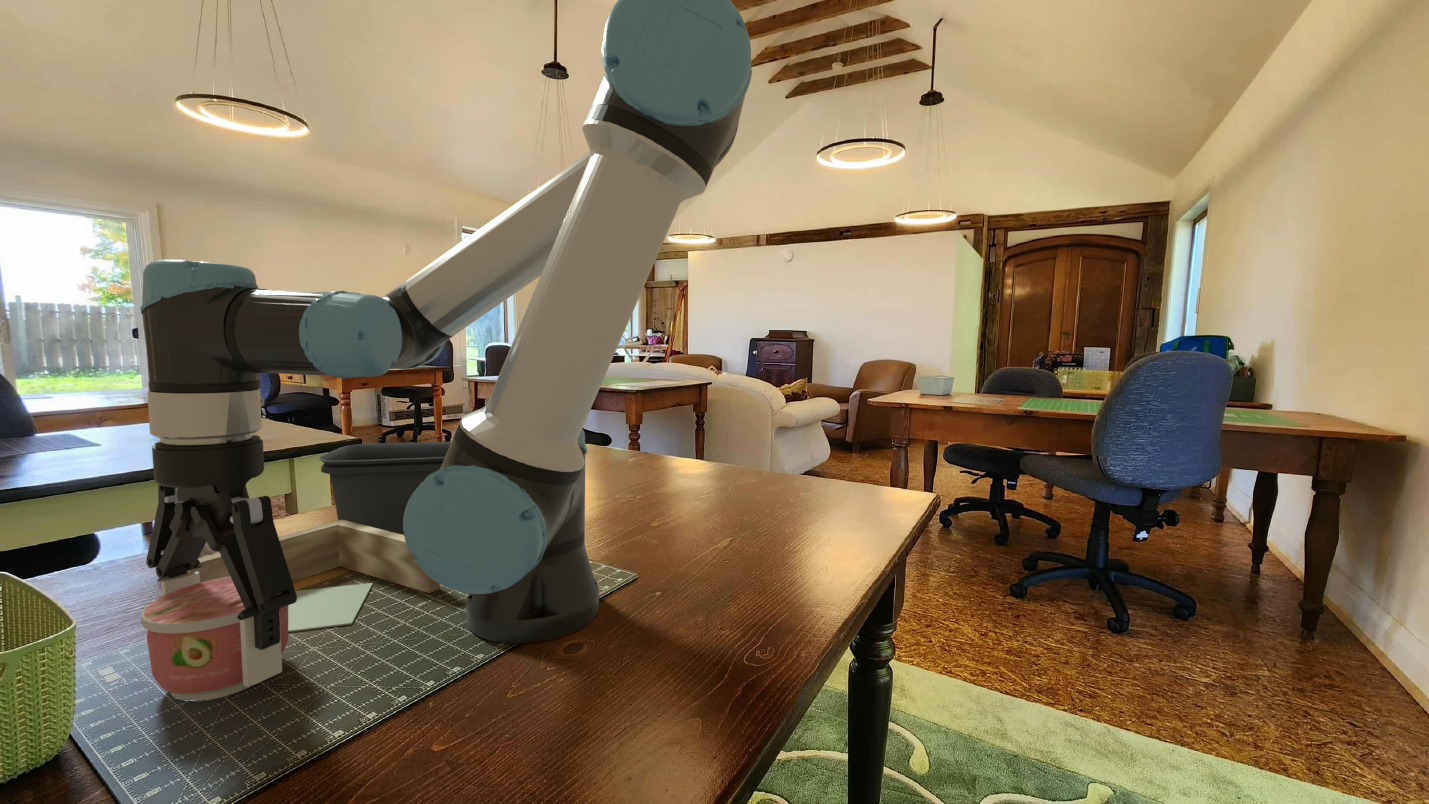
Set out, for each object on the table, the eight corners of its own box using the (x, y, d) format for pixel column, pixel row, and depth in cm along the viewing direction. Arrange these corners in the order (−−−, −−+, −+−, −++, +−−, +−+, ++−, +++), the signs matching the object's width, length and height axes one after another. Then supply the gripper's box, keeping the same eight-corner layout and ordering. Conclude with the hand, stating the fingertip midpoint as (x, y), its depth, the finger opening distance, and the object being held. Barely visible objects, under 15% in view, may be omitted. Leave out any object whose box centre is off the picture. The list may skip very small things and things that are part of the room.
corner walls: (439, 588, 74) (438, 543, 73) (287, 656, 57) (284, 599, 57) (343, 560, 82) (342, 519, 81) (186, 612, 65) (182, 562, 65)
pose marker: (372, 584, 74) (372, 582, 74) (351, 624, 64) (351, 622, 64) (271, 594, 70) (271, 593, 70) (231, 639, 60) (231, 637, 60)
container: (120, 694, 51) (113, 609, 50) (250, 638, 60) (246, 566, 60) (193, 725, 47) (187, 633, 46) (319, 660, 57) (315, 583, 56)
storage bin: (313, 554, 84) (308, 458, 82) (354, 521, 99) (351, 440, 97) (467, 546, 88) (466, 456, 87) (484, 516, 103) (483, 439, 102)
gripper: (339, 446, 50) (345, 674, 52) (189, 418, 60) (200, 610, 62) (237, 461, 43) (250, 723, 45) (89, 427, 53) (105, 641, 55)
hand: (221, 658), depth 54 cm, fingers open, 13 cm apart
